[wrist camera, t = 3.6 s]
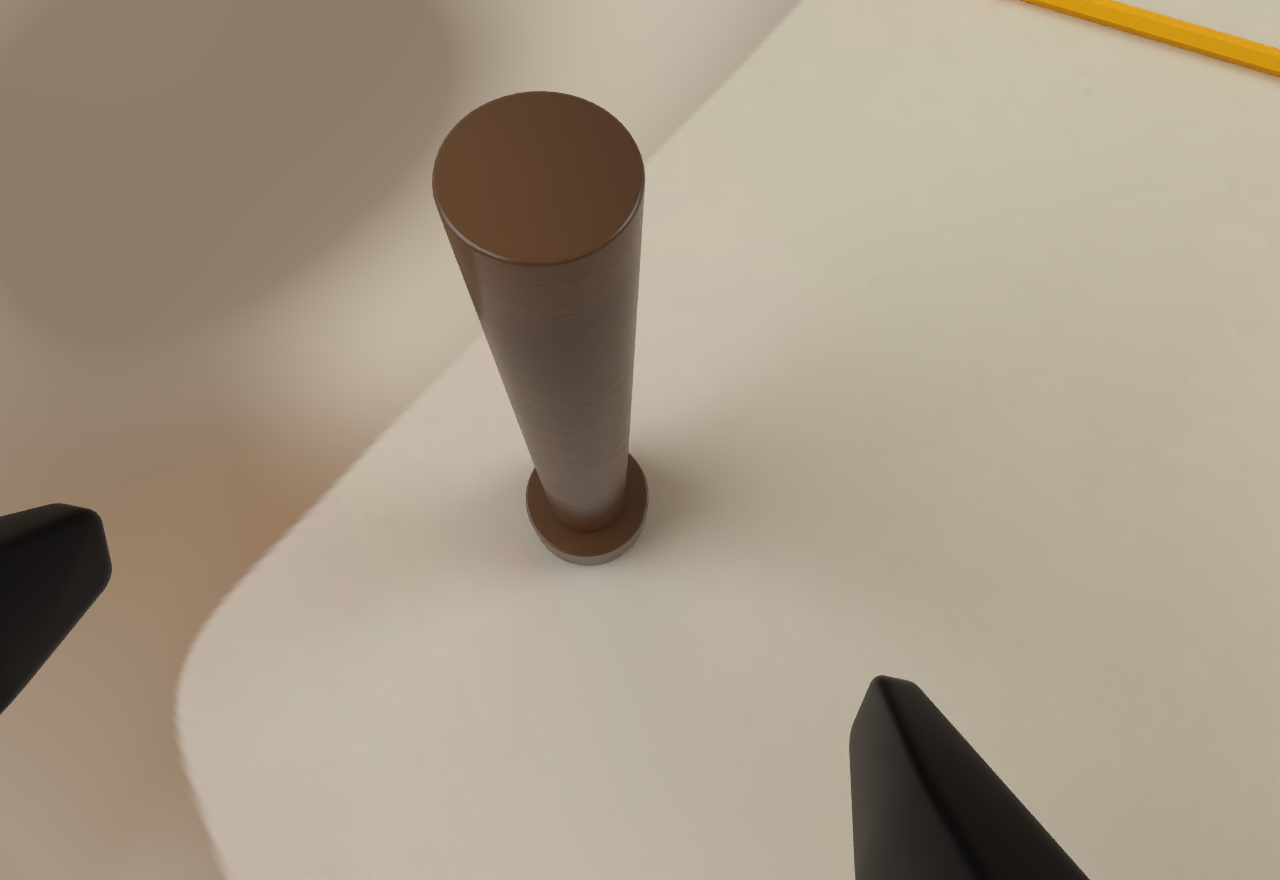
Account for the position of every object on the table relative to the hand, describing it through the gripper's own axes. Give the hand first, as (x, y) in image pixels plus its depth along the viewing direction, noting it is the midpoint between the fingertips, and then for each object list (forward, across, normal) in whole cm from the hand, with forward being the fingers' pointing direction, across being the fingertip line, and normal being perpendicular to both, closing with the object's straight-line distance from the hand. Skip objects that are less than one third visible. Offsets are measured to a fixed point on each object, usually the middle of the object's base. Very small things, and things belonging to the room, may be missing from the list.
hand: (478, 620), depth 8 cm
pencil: (+26, -17, -10) cm, 33 cm away
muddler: (+10, 0, +5) cm, 12 cm away
